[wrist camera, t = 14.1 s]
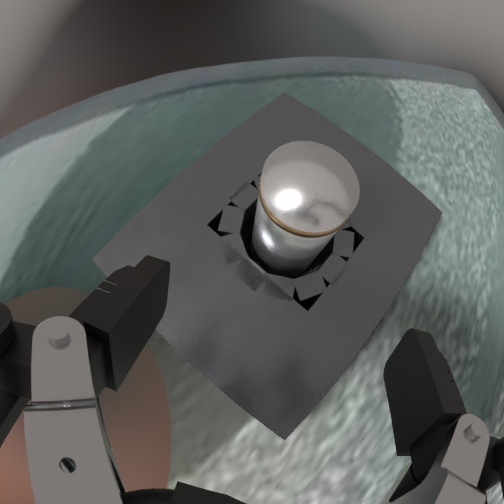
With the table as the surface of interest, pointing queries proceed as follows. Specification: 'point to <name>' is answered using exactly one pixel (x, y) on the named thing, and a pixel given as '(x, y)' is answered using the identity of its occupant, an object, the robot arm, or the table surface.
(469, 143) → the table surface
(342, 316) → the plate
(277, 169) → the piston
